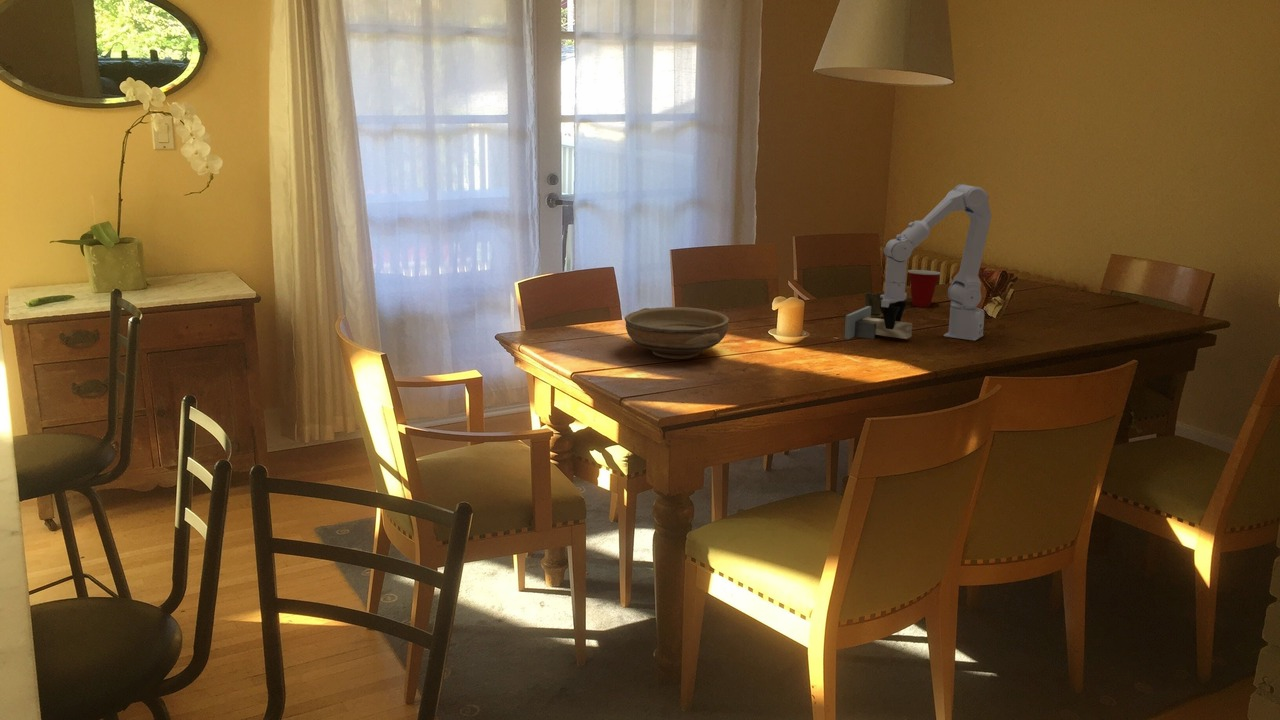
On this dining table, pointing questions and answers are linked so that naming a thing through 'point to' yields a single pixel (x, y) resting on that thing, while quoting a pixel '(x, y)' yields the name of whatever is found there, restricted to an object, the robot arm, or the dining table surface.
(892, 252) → the robot arm
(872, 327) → the bracket
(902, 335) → the rail
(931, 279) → the plastic cup
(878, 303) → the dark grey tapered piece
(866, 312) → the backboard
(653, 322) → the ceramic bowl
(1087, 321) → the dining table surface
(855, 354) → the dining table surface
